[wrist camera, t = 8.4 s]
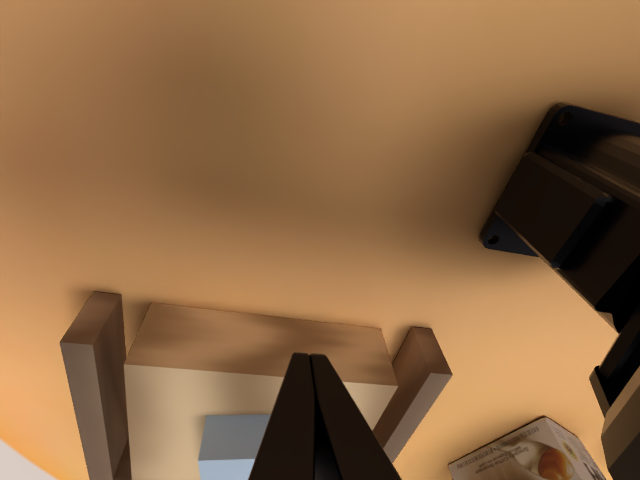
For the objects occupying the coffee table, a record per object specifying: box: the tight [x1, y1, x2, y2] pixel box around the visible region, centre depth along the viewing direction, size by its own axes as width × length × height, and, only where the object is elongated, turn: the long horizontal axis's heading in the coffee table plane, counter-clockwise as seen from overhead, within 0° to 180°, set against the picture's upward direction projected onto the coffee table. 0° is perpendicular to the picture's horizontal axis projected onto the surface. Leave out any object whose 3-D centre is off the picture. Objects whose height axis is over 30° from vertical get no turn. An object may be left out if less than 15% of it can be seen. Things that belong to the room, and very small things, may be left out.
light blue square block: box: [198, 414, 271, 480], centre depth 17 cm, size 4×4×2 cm
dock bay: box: [60, 292, 453, 480], centre depth 20 cm, size 17×13×3 cm
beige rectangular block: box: [124, 303, 398, 480], centre depth 20 cm, size 12×10×4 cm
